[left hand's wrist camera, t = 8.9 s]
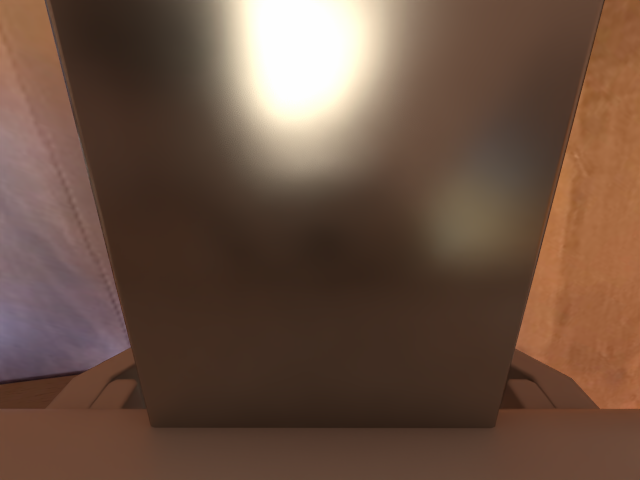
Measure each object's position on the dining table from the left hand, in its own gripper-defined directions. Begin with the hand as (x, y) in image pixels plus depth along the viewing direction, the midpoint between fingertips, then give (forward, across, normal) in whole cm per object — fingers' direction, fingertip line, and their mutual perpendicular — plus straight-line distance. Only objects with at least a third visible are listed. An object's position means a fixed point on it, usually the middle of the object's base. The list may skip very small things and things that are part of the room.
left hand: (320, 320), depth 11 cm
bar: (+3, 0, -9) cm, 10 cm away
